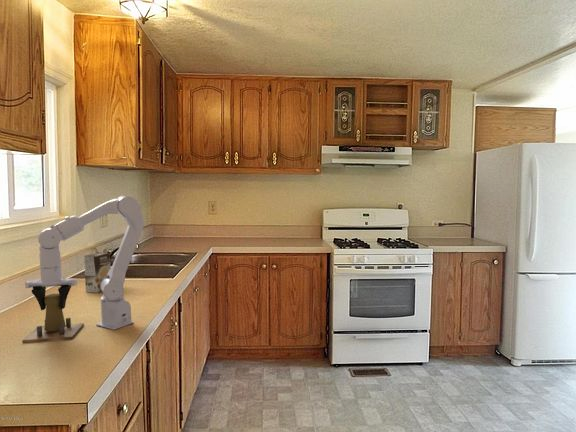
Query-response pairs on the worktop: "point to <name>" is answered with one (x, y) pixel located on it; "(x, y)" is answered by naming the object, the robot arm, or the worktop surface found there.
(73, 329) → the pin tray
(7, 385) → the worktop surface
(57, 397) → the worktop surface
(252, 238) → the worktop surface
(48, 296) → the cork
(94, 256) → the coffee box
